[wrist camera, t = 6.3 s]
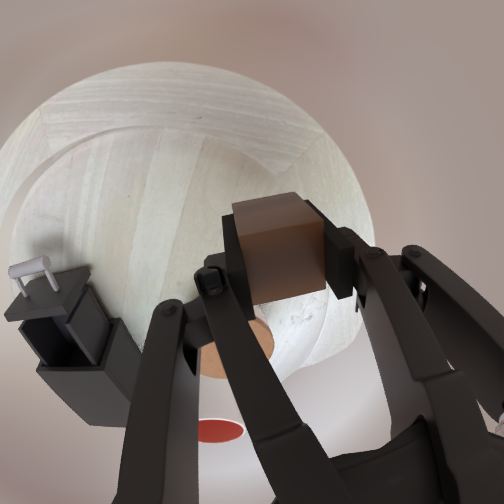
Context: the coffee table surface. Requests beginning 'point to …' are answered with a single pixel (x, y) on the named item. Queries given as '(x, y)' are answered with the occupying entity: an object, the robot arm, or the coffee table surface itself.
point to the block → (280, 246)
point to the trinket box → (210, 356)
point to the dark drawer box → (100, 381)
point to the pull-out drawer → (59, 315)
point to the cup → (218, 412)
